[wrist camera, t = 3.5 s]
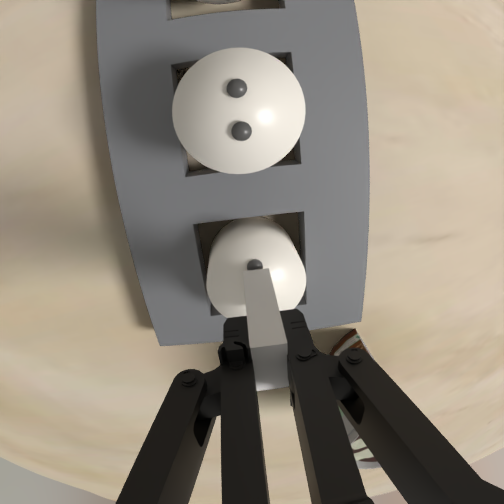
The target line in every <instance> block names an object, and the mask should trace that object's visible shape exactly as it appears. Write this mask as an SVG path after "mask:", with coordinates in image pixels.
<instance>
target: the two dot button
mask: <svg viewBox="0 0 504 504" xmlns="http://www.w3.org/2000/svg"><path fill="white" fill-rule="evenodd" d="M172 118H173V124H174V128H175V131H176V134H177V136H178V138H179V140H180V142H181V144H182V145H183V147H184V148H185V149H186V151H187V152H188V153H189V154H190V155H191V156H192V157H193V158H195V159H196V160H197V161H198V162H200V163H201V164H203V165H204V166H206V167H209V168H211V169H213V170H216V171H219V172H223V173H228V174H248V173H254V172H257V171H261V170H264V169H266V168H268V167H270V166H272V165H274V164H275V163H277V162H278V161H280V160H281V159H282V158H284V157H285V156H286V155H287V154H288V153H289V152H290V151H291V149H292V148H293V147H294V145H295V144H296V142H297V140H298V139H299V137H300V134H301V132H302V129H303V125H304V122H305V100H304V95H303V92H302V89H301V86H300V84H299V82H298V80H297V79H296V77H295V76H294V74H293V73H292V72H291V71H290V69H289V68H288V67H287V66H286V65H285V64H283V63H282V62H281V61H280V60H278V59H277V58H275V57H274V56H272V55H270V54H268V53H265V52H262V51H260V50H256V49H251V48H228V49H223V50H219V51H216V52H214V53H211V54H209V55H207V56H205V57H204V58H202V59H200V60H199V61H198V62H196V63H195V64H194V65H193V66H192V67H191V68H190V69H189V70H188V71H187V72H186V73H185V75H184V76H183V77H182V79H181V81H180V83H179V84H178V86H177V89H176V92H175V95H174V99H173V105H172Z"/></svg>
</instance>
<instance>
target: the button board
mask: <svg viewBox="0 0 504 504" xmlns="http://www.w3.org/2000/svg"><path fill="white" fill-rule="evenodd" d="M278 3H279V9H254V10H240V11H228V12H219V13H211V14H203V15H196V16H190V17H184V18H178V19H173V20H172V17H171V4H170V0H96V26H97V49H98V64H99V76H100V87H101V96H102V105H103V113H104V120H105V127H106V134H107V141H108V147H109V153H110V159H111V164H112V170H113V175H114V180H115V185H116V190H117V195H118V200H119V205H120V209H121V214H122V218H123V222H124V226H125V230H126V235H127V239H128V243H129V246H130V250H131V254H132V258H133V261H134V265H135V269H136V272H137V276H138V279H139V283H140V286H141V289H142V293H143V296H144V299H145V302H146V306H147V309H148V312H149V315H150V318H151V321H152V324H153V327H154V330H155V333H156V336H157V339H158V342H159V344H160V346H171V345H186V344H198V343H210V342H221V341H223V324H224V323H225V321H226V320H227V318H226V317H225V316H223V315H222V314H221V313H220V312H218V311H217V309H216V308H215V307H214V306H213V304H212V303H211V301H210V298H209V296H208V292H207V286H206V284H207V275H206V270H205V264H204V259H203V253H202V248H201V242H200V236H199V230H198V224H199V223H206V222H214V221H222V220H231V219H239V218H247V217H256V216H265V215H274V214H283V213H293V212H298V218H299V240H300V259H301V261H302V264H303V266H304V269H305V273H306V287H305V291H304V294H303V296H302V298H301V300H300V302H299V303H298V305H297V306H296V307H295V308H294V309H298V310H299V311H300V312H302V313H303V315H304V318H305V321H306V323H307V327H308V329H309V330H315V329H321V328H327V327H333V326H338V325H344V324H350V323H355V322H360V321H361V318H362V309H363V300H364V290H365V278H366V266H367V251H368V231H369V195H370V166H369V131H368V113H367V98H366V86H365V75H364V66H363V57H362V49H361V41H360V34H359V27H358V21H357V15H356V9H355V3H354V0H278ZM228 48H251V49H256V50H260V51H262V52H265V53H268V54H270V55H272V56H274V57H275V58H286V66H287V67H288V68H289V69H290V71H291V72H292V73H293V74H294V76H295V77H296V79H297V80H298V82H299V84H300V86H301V89H302V92H303V95H304V100H305V122H304V125H303V129H302V132H301V134H300V137H299V139H298V140H297V142H296V144H295V145H294V154H295V160H287V161H278V162H277V163H275V164H274V165H272V166H270V167H268V168H266V169H264V170H261V171H257V172H254V173H248V174H228V173H223V172H219V171H216V170H213V169H205V170H198V171H191V172H189V167H188V160H187V153H186V149H185V148H184V147H183V145H182V144H181V142H180V140H179V138H178V136H177V134H176V131H175V128H174V124H173V118H172V105H173V99H174V95H175V92H176V89H177V86H178V81H177V72H176V69H181V68H187V67H192V66H193V65H194V64H195V63H196V62H198V61H199V60H200V59H202V58H204V57H205V56H207V55H209V54H211V53H214V52H216V51H219V50H223V49H228Z"/></svg>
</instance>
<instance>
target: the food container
mask: <svg viewBox="0 0 504 504" xmlns="http://www.w3.org/2000/svg"><path fill="white" fill-rule="evenodd" d="M352 347H353V348H360V349H363V350H365V351H366V352H367V353H368V354H369V355H370V356H371V357H372V355H371V353H370V352H369V350H368V348H367V347H366V345H365V344H364V342H363V340H362V339H361V337H360V336H359V334H358V332H357V331H356V329H354V330H352V331H351V332H349V333H348V334H347V335H345V336H344V337H343V338H342V339H341V340H340V341H339V342H338V343H337V344H336V345H335V346H334V347H333V349H332V351H331V353H330V354H329V355H335V356H339V355H340V353H341V352H342V351H343V350H345V349H347V348H352ZM372 358H373V357H372ZM373 359H374V358H373ZM338 407H339V406H338ZM339 410H340V413H341V416H342V419H343V422H344V425H345V428H346V432H347V435H348V438H349V441H350V444H351V447H352V450H353V453H354V457H355V460H356V463H357V466H358V468H359V469H374V468H380V467H381V466H380V464H379V463H378V461H377V460H376V459H375V457H374V456H373V454H372V453H371V452H370V450H369V449H368V447H367V446H366V445H365V443H364V442H363V440H362V439H361V437H360V436H359V435H358V433H357V432H356V430H355V429H354V428H353V426H352V425H351V423H350V422H349V420H348V419H347V418H346V416H345V415H344V413H343V412H342V410H341V409H340V408H339Z"/></svg>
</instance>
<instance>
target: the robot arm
mask: <svg viewBox="0 0 504 504" xmlns="http://www.w3.org/2000/svg"><path fill="white" fill-rule="evenodd" d="M243 279H244V290H245V302H246V313H247V316H240V317H231V318H227V320H226V321H225V323H224V324H223V344H222V345H221V346H220V347H219V349H218V355H219V360H220V364H221V365H220V366H219V367H218V368H216V369H215V370H213V371H210V372H207V373H204V374H203V373H202V372H200V371H199V370H195V369H188V370H184V371H182V372H180V373H179V374H177V376H176V377H175V378H174V380H173V382H172V384H171V386H170V388H169V391H168V393H167V395H166V397H165V399H164V401H163V403H162V405H161V407H160V409H159V412H158V414H157V416H156V418H155V420H154V422H153V424H152V426H151V428H150V431H149V433H148V435H147V437H146V439H145V441H144V443H143V445H142V448H141V450H140V452H139V454H138V456H137V458H136V460H135V463H134V465H133V467H132V469H131V471H130V473H129V476H128V478H127V480H126V482H125V484H124V486H123V489H122V491H121V493H120V495H119V497H118V500H117V502H116V504H188V503H189V500H190V497H191V494H192V491H193V488H194V485H195V482H196V479H197V476H198V473H199V470H200V467H201V463H202V460H203V457H204V454H205V451H206V448H207V445H208V442H209V439H210V436H211V433H212V429H213V426H214V423H215V420H216V416H219V415H221V477H222V504H270V500H269V491H268V483H267V475H266V466H265V458H264V449H263V441H262V432H261V423H260V414H259V405H258V397H257V391H262V390H270V389H278V388H285V387H289V386H290V402H291V406H292V407H293V411H294V416H295V421H296V426H297V431H298V436H299V441H300V446H301V451H302V456H303V461H304V466H305V471H306V476H307V482H308V487H309V492H310V497H311V502H312V504H374V502H373V501H372V499H370V498H369V497H368V496H367V495H366V492H365V489H364V486H363V482H362V479H361V476H360V473H359V469H358V466H357V463H356V460H355V457H354V453H353V450H352V447H351V444H350V441H349V438H348V435H347V432H346V428H345V425H344V422H343V419H342V416H341V413H340V410H339V408H340V409H341V410H342V412H343V413H344V415H345V416H346V418H347V419H348V420H349V422H350V423H351V425H352V426H353V428H354V429H355V430H356V432H357V433H358V435H359V436H360V437H361V439H362V440H363V442H364V443H365V445H366V446H367V447H368V449H369V450H370V452H371V453H372V454H373V456H374V457H375V459H376V460H377V461H378V463H379V464H380V466H381V467H382V468H383V470H384V471H385V473H386V474H387V475H388V477H389V478H390V480H391V481H392V482H393V484H394V485H395V486H396V488H397V489H398V491H399V492H400V493H401V495H402V496H403V497H404V499H405V500H406V501H407V503H408V504H504V490H503V489H501V488H498V487H496V486H494V485H492V484H490V483H488V482H486V481H484V480H482V479H481V478H480V477H479V476H478V474H477V473H476V472H475V471H474V470H473V469H472V468H471V467H470V465H469V464H468V463H467V462H466V461H465V460H464V459H463V457H462V456H461V455H460V454H459V453H458V452H457V451H456V450H455V448H454V447H453V446H452V445H451V444H450V443H449V442H448V441H447V439H446V438H445V437H444V436H443V435H442V434H441V433H440V432H439V431H438V429H437V428H436V427H435V426H434V425H433V424H432V423H431V422H430V421H429V419H428V418H427V417H426V416H425V415H424V414H423V413H422V412H421V411H420V409H419V408H418V407H417V406H416V405H415V404H414V403H413V402H412V401H411V400H410V398H409V397H408V396H407V395H406V394H405V393H404V392H403V391H402V390H401V389H400V387H399V386H398V385H397V384H396V383H395V382H394V381H393V380H392V379H391V378H390V377H389V375H388V374H387V373H386V372H385V371H384V370H383V369H382V368H381V367H380V366H379V365H378V364H377V362H376V361H375V360H374V359H373V358H372V357H371V356H370V355H369V354H368V353H367V352H366V351H365V350H363V349H360V348H353V347H352V348H347V349H345V350H343V351H342V352H341V353H340V355H339V356H335V355H326V354H323V353H321V352H319V350H318V349H317V348H315V346H314V344H313V341H312V338H311V335H310V332H309V329H308V327H307V323H306V321H305V318H304V315H303V313H302V312H300V311H299V310H298V309H290V310H283V311H279V307H278V303H277V299H276V295H275V291H274V287H273V283H272V279H271V275H270V271H269V268H265V269H257V270H248V271H243ZM338 406H339V407H338Z"/></svg>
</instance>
